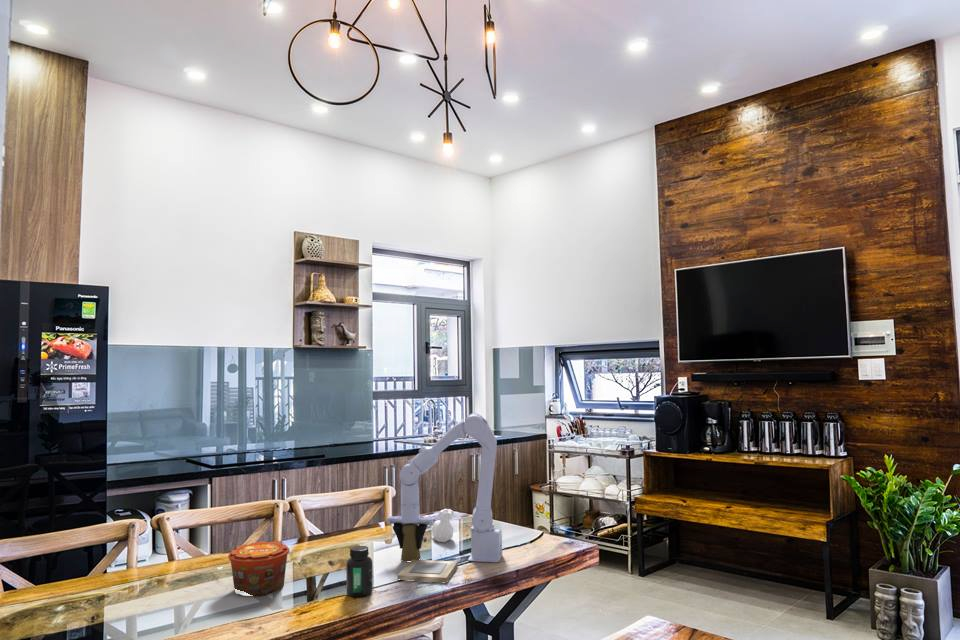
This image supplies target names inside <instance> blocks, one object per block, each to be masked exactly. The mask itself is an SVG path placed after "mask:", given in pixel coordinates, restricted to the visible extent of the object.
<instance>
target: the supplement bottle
mask: <svg viewBox="0 0 960 640" xmlns="http://www.w3.org/2000/svg"><path fill="white" fill-rule="evenodd" d="M369 554H370V553H369V547H368V546H367V545H355V546H352V547H350V549H349V558H348V559H347V561H346V565H345V573H346V575H345V577H346V578H345V579H346V582H345V583H346V585H345V586H346V595H347V596H348V598H352V599H362V598H367V597H369V596H370V595H372V593H373V586H374V585H373V582H374V581H373V577H374V575H373V560H372V558H371V557H370V556H369Z"/></svg>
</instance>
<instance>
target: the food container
mask: <svg viewBox="0 0 960 640" xmlns="http://www.w3.org/2000/svg"><path fill="white" fill-rule="evenodd" d="M289 554H290V548H289V547H288V546H287V544H285V543H284V544H283V542H279V541H270V542H269V541H268V542H267V541H255V542H251V543H249V544H242V545H241V544H240V545H239V546H237V547H236V546H235V548H234V549H233V550H231V551H230V552H229V553H228V555H227V557H228V560H229V561H230V567H231V575H232V581H233V582H232V583H233V589H234V588H235V589H237V590H240V591H244V592H246V593H248V594H250V595H253V596H255V597H256V596H257V597H262V596H268V595H270V594H275V593H277V592H278V591H280V590H282V589H283V587H284V586H285V578H286V568H287V560H288V555H289Z"/></svg>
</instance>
